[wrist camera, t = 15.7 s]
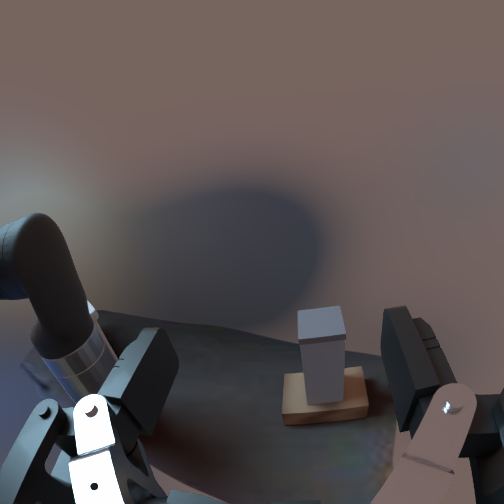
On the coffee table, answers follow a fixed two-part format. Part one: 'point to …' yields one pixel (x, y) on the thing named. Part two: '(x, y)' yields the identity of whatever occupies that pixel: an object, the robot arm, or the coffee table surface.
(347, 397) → the stand
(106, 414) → the robot arm
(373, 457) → the coffee table surface
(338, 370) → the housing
